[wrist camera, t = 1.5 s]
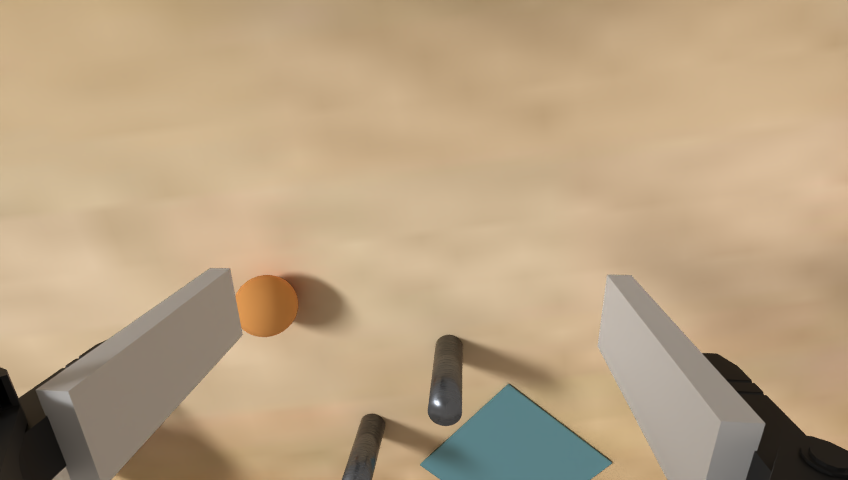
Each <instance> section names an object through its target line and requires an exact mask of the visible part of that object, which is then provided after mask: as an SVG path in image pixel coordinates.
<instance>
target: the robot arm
mask: <svg viewBox="0 0 848 480" xmlns="http://www.w3.org/2000/svg"><path fill="white" fill-rule="evenodd" d="M242 335H243V334H242V329H241V323H240V318H239V313H238V308H237V302H236V297H235V292H234V286H233V281H232V276H231V270H230V269H228V268H210V269H208V270H207V271H205V272H204V273H202V274H201V275H200V276H198V277H197V278H195V279H194V280H192V281H191V282H189V283H188V284H187V285H185V286H184V287H182V288H181V289H179V290H178V291H177V292H175V293H174V294H172V295H171V296H169V297H168V298H167V299H165V300H164V301H162V302H161V303H159V304H158V305H156V306H155V307H154V308H152V309H151V310H149V311H148V312H146V313H145V314H144V315H142V316H141V317H139V318H138V319H136V320H135V321H134V322H132V323H131V324H129V325H128V326H126V327H125V328H123V329H122V330H121V331H119V332H118V333H116V334H115V335H113V336H112V337H111V338H109V339H108V340H106V341H103V342H101V343H99V344H97V345H95V346H94V347H92V348H91V349H89V350H88V351H86V352H85V353H83V354H82V355H81V356H79V359H75V360H73V361H72V362H70V363H69V364H67V365H66V367H65V368H62V369H60V370H59V371H57V372H56V373H54V374H53V375H52V376H50V377H49V378H47V379H46V380H44V381H43V382H41V383H40V384H38V385H37V386H36V387H34V388H33V389H31V390H30V391H28V392H27V393H25V394H24V395H23V396H21V397H20V398H18V396H17V394H16V391H15V389H14V386H13V384H12V382H11V379H10V377H9V374H8V372H7V370H6V369H3V368H0V480H52V479H53V478H54V477H55V476H56V475H57V474H58V473H59V472H61V471H62V470H63V469H64V468H65V467H66V469H67V471H68V474H69V477H70V479H71V480H111V479H112V478H113V477H114V476H115V475H116V474H117V473H118V472H119V471H120V469H121V468H122V467H123V466H124V465H125V464H126V463H127V462H128V461H129V460H130V458H131V457H132V456H133V455H134V454H135V453H136V452H137V451H138V450H139V449H140V447H141V446H142V445H143V444H144V443H145V442H146V441H147V440H148V439H149V438H150V436H151V435H152V434H153V433H154V432H155V431H156V430H157V429H158V428H159V427H160V425H161V424H162V423H163V422H164V421H165V420H166V419H167V418H168V417H169V416H170V414H171V413H172V412H173V411H174V410H175V409H176V408H177V407H178V406H179V405H180V403H181V402H182V401H183V400H184V399H185V398H186V397H187V396H188V395H189V394H190V392H191V391H192V390H193V389H194V388H195V387H196V386H197V385H198V384H199V383H200V381H201V380H202V379H203V378H204V377H205V376H206V375H207V374H208V373H209V372H210V370H211V369H212V368H213V367H214V366H215V365H216V364H217V363H218V362H219V361H220V359H221V358H222V357H223V356H224V355H225V354H226V353H227V352H228V351H229V349H230V348H231V347H232V346H233V345H234V344H235V343H236V342H237V341H238V340H239V338H240V337H241V336H242ZM598 348H599V350H600V352H601V354H602V355H603V357H604V359H605V361H606V363H607V365H608V367H609V369H610V371H611V373H612V375H613V377H614V378H615V380H616V382H617V384H618V386H619V388H620V390H621V392H622V394H623V396H624V398H625V400H626V401H627V403H628V405H629V407H630V409H631V411H632V413H633V415H634V417H635V419H636V421H637V423H638V424H639V426H640V428H641V430H642V432H643V434H644V436H645V438H646V440H647V442H648V444H649V446H650V447H651V449H652V451H653V453H654V455H655V457H656V459H657V461H658V463H659V465H660V467H661V469H662V470H663V472H664V474H665V476H666V478H667V480H848V451H847V450H845V449H843V448H841V447H839V446H837V445H835V444H833V443H831V442H828V441H825V440H822V439H819V438H815V437H812V436H806V435H805V434H804V433H803V432H802V431H801V430H800V429H799V428H798V427H797V426H796V425H795V424H794V423H793V422H792V421H791V420H790V419H789V418H788V417H787V416H786V415H785V413H784V412H783V411H782V410H781V409H780V408H779V407H778V406H777V405H776V404H775V403H774V402H773V401H772V400H771V399H770V398H769V397H768V396H767V395H764V394H763V391H762V390H761V389H760V388H759V387H758V386H757V385H756V384H755V383H752V380H751V379H750V378H749V377H748V376H747V375H746V374H745V373H744V372H743V371H742V370H741V369H740V368H739V367H738V366H737V365H735V364H733V363H732V362H730V361H728V360H727V359H725V358H723V357H722V356H720V355H718V354H713V353H701V352H700V351H699V350H698V348H697V347H696V346H695V345H694V344H693V343H692V342H691V341H690V340H689V338H688V337H687V336H686V335H685V334H684V333H683V332H682V331H681V330H680V329H679V327H678V326H677V325H676V324H675V323H674V322H673V321H672V320H671V319H670V317H669V316H668V315H667V314H666V313H665V312H664V311H663V310H662V309H661V308H660V306H659V305H658V304H657V303H656V302H655V301H654V300H653V299H652V298H651V296H650V295H649V294H648V293H647V292H646V291H645V290H644V289H643V288H642V287H641V285H640V284H639V283H638V282H637V281H636V280H635V279H634V278H633V277H632V275H607V280H606V287H605V295H604V302H603V310H602V317H601V325H600V332H599V340H598Z"/></svg>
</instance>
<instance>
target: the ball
mask: <svg viewBox="0 0 848 480" xmlns="http://www.w3.org/2000/svg"><path fill="white" fill-rule="evenodd" d="M235 297H236V302H237V308H238V313H239V318H240V323H241V328H242V329H243V330H244V331H246V332H247V333H249V334H251V335H254V336H259V337H269V336H274V335H277V334H279V333H281V332H283V331H284V330H285V329H287V328H288V327H289V326H290V325H291V324H292V322H293V321H294V319H295V317H296V314H297V311H298V298H297V294H296V292H295V290H294V289H293V287H292V286H291V285H290V284H289V283H288V282H287V281H285V280H284V279H282V278H280V277H277V276H272V275H263V276H258V277H255V278H252V279H250V280H249V281H247V282H246V283H245V284H243V285H242V286H241V288H240V289H239V290H238V292H237V294H236V296H235Z"/></svg>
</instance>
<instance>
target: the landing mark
mask: <svg viewBox="0 0 848 480" xmlns="http://www.w3.org/2000/svg"><path fill="white" fill-rule="evenodd" d="M610 464H612V462H611V461H610V460H609V459H607V458H606V457H605V456H603V455H602V454H601V453H599V452H598V451H597V450H595V449H594V448H593V447H592V446H590V445H589V444H588V443H586V442H585V441H584V440H582V439H581V438H580V437H578V436H577V435H576V434H574V433H573V432H572V431H570V430H569V429H568V428H566V427H565V426H564V425H562V424H561V423H560V422H559V421H557V420H556V419H555V418H553V417H552V416H551V415H549V414H548V413H547V412H545V411H544V410H543V409H541V408H540V407H539V406H537V405H536V404H535V403H533V402H532V401H531V400H529V399H528V398H527V397H526V396H524V395H523V394H522V393H520V392H519V391H518V390H516V389H515V388H514V387H512V386H511V385H510V384H508V385H507V386H506V387H504V388H503V389H502V390H501V391H500V392H499V393H498V394H497V395H496V396H495V397H493V398H492V399H491V400H490V401H489V402H488V403H487V404H486V405H485V406H484V407H482V408H481V409H480V410H479V411H478V412H477V413H476V414H475V415H474V416H473V417H472V418H470V419H469V420H468V421H467V422H466V423H465V424H464V425H463V426H462V427H461V428H459V429H458V430H457V431H456V432H455V433H454V434H453V435H452V436H451V437H450V438H448V439H447V440H446V441H445V442H444V443H443V444H442V445H441V446H440V447H439V448H437V449H436V450H435V451H434V452H433V453H432V454H431V455H430V456H429V457H428V458H427V459H425V460H424V461H423V462H422V463H421V464H420V466H422V467H423V468H425V469H426V470H428V471H429V472H430V473H432V474H433V475H435V476H436V477H438V478H439V479H440V480H590V479H592V478H593V477H594V476H596V475H597V474H598V473H600V472H601V471H602V470H604V469H605V468H606V467H608V466H609V465H610Z"/></svg>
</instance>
